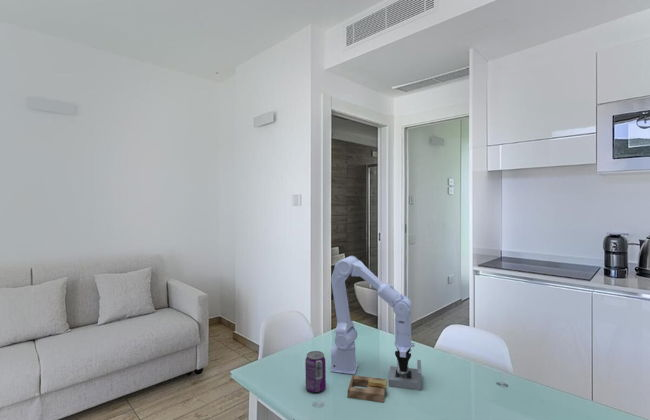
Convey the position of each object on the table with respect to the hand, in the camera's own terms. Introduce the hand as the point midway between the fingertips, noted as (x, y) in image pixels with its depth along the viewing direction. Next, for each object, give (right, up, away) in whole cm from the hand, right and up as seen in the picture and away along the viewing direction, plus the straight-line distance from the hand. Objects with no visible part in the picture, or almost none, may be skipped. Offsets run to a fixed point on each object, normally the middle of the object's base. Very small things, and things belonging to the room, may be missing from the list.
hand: (403, 368), depth 121 cm
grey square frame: (0, -5, 0) cm, 5 cm away
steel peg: (0, -5, 0) cm, 5 cm away
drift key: (-11, -2, -8) cm, 13 cm away
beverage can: (-32, -5, -4) cm, 33 cm away
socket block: (-14, -5, -7) cm, 16 cm away
